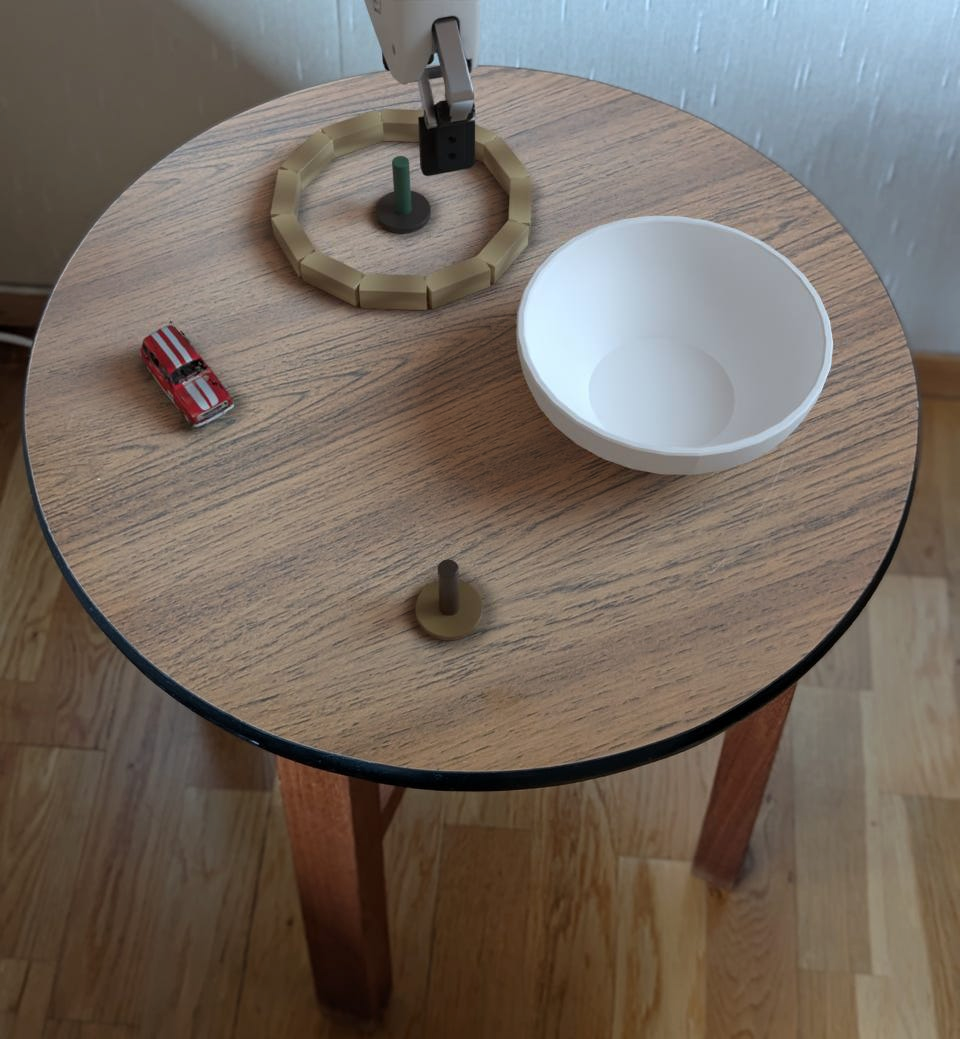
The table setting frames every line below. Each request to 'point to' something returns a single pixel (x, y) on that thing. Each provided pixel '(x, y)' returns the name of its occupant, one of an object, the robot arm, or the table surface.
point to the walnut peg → (449, 605)
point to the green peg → (402, 203)
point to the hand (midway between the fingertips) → (427, 115)
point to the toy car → (184, 376)
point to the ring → (387, 287)
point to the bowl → (673, 344)
